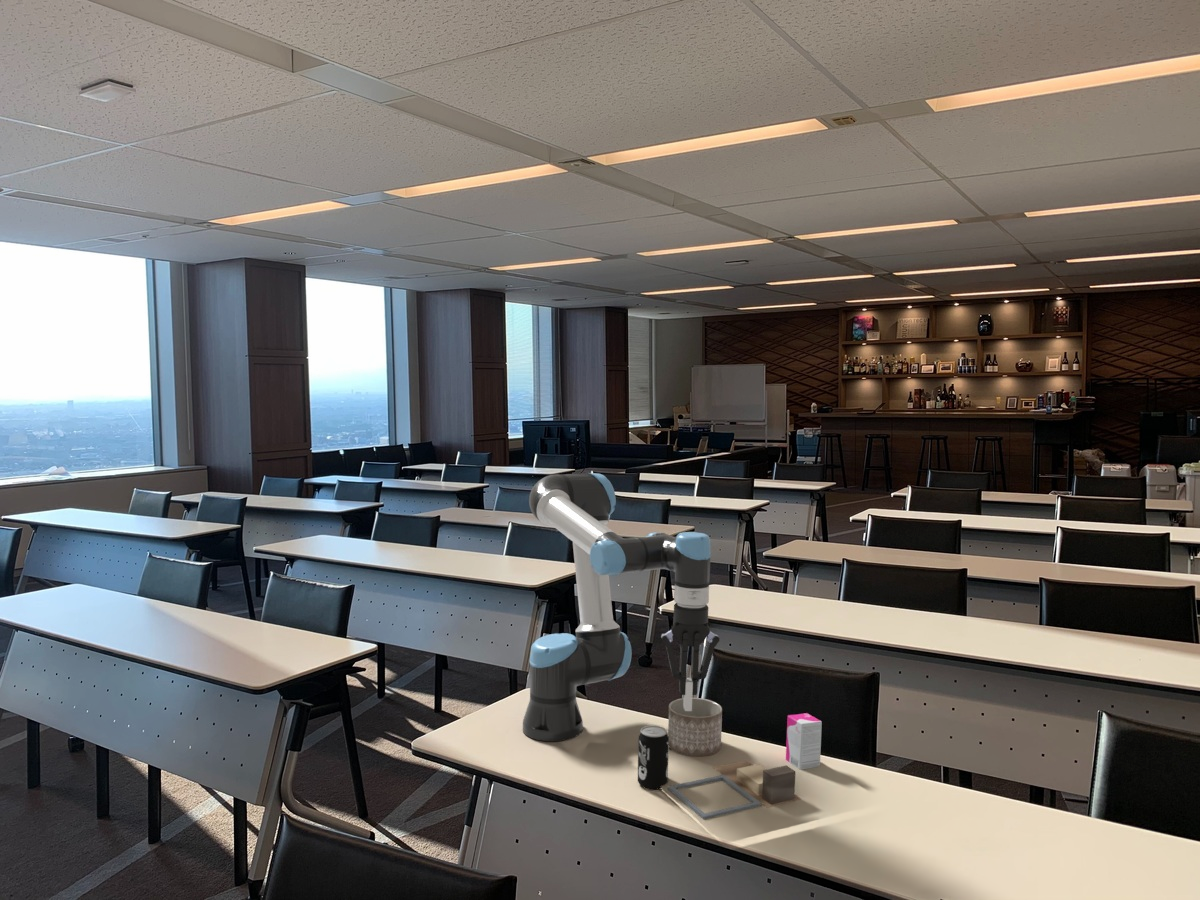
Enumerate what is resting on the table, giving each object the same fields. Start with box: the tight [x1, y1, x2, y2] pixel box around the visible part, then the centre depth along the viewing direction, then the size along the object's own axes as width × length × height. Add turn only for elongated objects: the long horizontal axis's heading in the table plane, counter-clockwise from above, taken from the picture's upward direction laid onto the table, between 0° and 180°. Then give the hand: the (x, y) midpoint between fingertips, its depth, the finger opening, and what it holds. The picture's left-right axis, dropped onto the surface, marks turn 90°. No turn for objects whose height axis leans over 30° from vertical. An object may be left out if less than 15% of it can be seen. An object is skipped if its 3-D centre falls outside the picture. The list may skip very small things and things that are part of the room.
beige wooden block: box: [737, 763, 768, 796], centre depth 181 cm, size 8×6×2 cm
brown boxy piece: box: [712, 760, 802, 808], centre depth 182 cm, size 20×9×7 cm, turn 25°
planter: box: [667, 697, 723, 757], centre depth 201 cm, size 13×13×10 cm
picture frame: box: [667, 774, 762, 820], centre depth 175 cm, size 14×14×2 cm
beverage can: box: [637, 725, 670, 791], centre depth 182 cm, size 7×7×12 cm
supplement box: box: [785, 712, 823, 770], centre depth 192 cm, size 6×6×12 cm
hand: (687, 708), depth 185 cm, fingers closed
